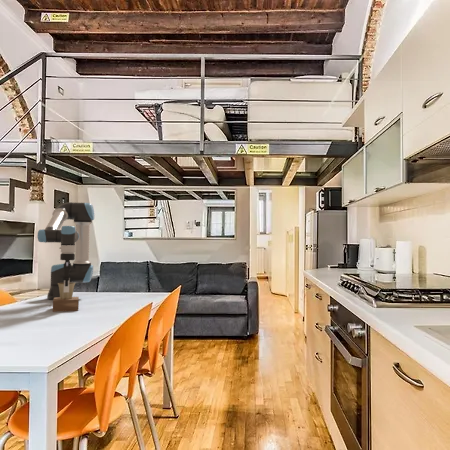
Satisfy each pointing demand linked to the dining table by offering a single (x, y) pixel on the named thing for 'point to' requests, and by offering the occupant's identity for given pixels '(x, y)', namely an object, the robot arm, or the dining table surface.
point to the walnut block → (65, 304)
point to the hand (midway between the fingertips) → (66, 291)
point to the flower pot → (66, 294)
